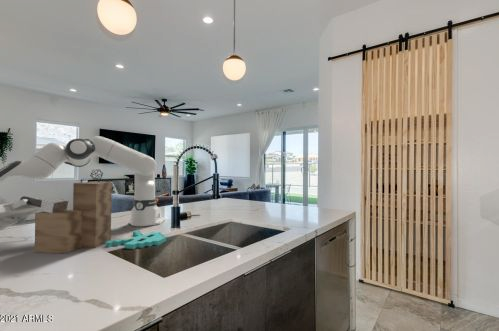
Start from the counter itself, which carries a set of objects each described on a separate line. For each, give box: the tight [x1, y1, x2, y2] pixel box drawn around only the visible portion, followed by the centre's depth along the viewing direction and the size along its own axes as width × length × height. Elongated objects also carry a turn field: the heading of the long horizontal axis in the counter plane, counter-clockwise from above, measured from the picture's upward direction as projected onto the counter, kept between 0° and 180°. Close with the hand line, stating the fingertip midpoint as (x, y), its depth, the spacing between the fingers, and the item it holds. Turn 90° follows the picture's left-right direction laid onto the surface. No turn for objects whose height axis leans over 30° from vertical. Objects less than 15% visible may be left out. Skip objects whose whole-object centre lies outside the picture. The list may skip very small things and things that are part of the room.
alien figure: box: [105, 230, 167, 250], centre depth 115 cm, size 20×2×20 cm
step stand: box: [34, 181, 113, 254], centre depth 108 cm, size 18×19×26 cm
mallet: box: [19, 195, 69, 213], centre depth 103 cm, size 7×16×4 cm, turn 84°
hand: (31, 199), depth 104 cm, fingers closed on mallet, 3 cm apart
